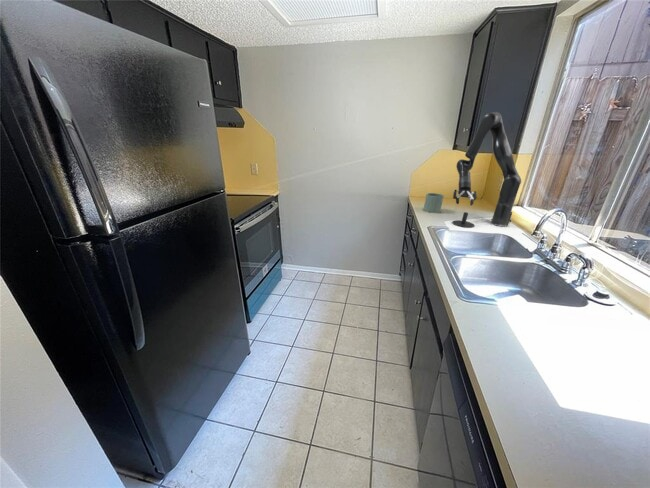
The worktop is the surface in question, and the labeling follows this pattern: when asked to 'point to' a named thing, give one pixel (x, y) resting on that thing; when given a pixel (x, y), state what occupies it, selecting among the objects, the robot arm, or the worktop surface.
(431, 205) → the teal cylindrical pot
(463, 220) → the lid
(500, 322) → the worktop surface
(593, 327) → the worktop surface
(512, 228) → the worktop surface
